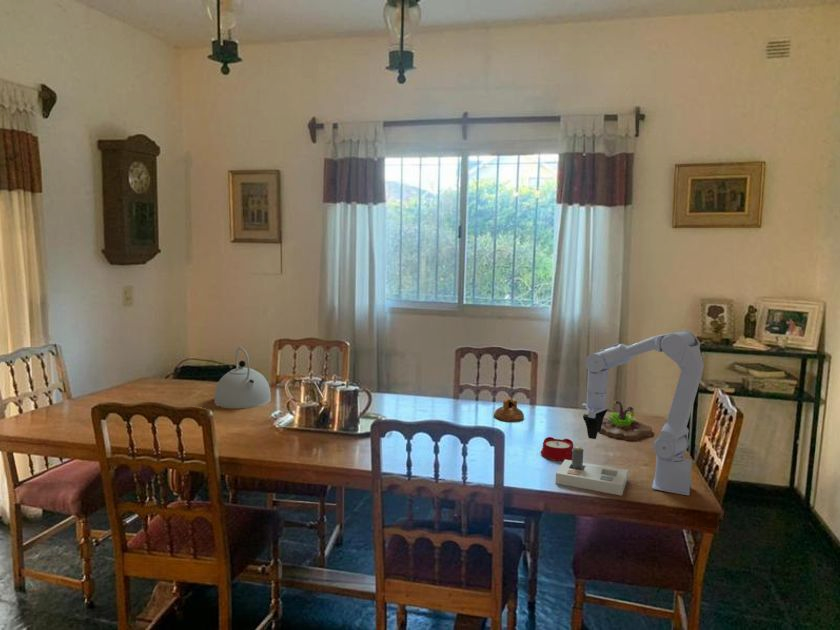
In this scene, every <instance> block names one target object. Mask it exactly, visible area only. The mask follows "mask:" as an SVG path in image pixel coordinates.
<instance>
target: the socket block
mask: <svg viewBox="0 0 840 630" xmlns="http://www.w3.org/2000/svg"><path fill="white" fill-rule="evenodd" d="M628 472H629V470H628V469H625V468H624V469H623V468H618V467H612V466H606V465H600V464H594V463H590V462H589V463H587V462H583V468H582V470H576V469H572V459H570V460H564V461H562V463H561V464H560V466H559V467H558V469H557V471H556V472H555V484H558V485H562V486H563V485H564V486H567V487H569V486H570V487H572V488H573V487H574V488H579V489H583V490H584V489H585V490H590V491H595V492H599V493H600V492H601V493H605V494H612V495H617V496H623V494H624V491H625V488H626V485H627V482H628Z"/></svg>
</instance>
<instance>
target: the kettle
mask: <svg viewBox="0 0 840 630" xmlns="http://www.w3.org/2000/svg"><path fill="white" fill-rule="evenodd" d="M240 350H241V351H243V352H244V354H245V355H244V356H245V357H246V361H247V367H245V366H246V361H245V360H240V361H239V362H238V360H239V359H238V356H239V351H240ZM235 367H236V368H234V369H231V370H229V371H228V372H227V373H225V374H224V375H222V377H221V378H220V379H219V380H218V382H217V384H216V386H215V390H214V396H213V397H214V403H215V404H216V405H215V404H214V405H215V406H217V407H219V406H221V407H220V408H225V409H250V408H255V407H260V406H264V405H266V404H269V403H270V402H271V400H272V396H271V388H270V384H269V382H268V381H267V379H266V377H265V376H264V375H263V374H262V373H260V372H259V371H258V370H255V369H254V368H251V367H250V358H249V355H248V352H247V351H246V349H245V348H243V347H241V346H239V347H238V348H237V349H236V352H235Z"/></svg>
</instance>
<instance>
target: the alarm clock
mask: <svg viewBox="0 0 840 630" xmlns="http://www.w3.org/2000/svg"><path fill="white" fill-rule="evenodd" d="M573 448H574V443H573V441H572V440H571V439H569V438H563V439H560V438H559V439H558V438H554V437H551V436H548V437H546V438H544V440H543V442H542V449H541V450H540V455H541V457H544V458H545V459H549V460H553V461H555V462H560V461H562V462H564V460H572V454H573Z"/></svg>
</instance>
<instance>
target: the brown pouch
mask: <svg viewBox="0 0 840 630" xmlns="http://www.w3.org/2000/svg"><path fill="white" fill-rule="evenodd" d="M502 405H503V406H501V407H498V408H496V409H495V411H494V412H493V418H494V419H496V420H499V421H502V422H508V423H510V422H512V423H513V422H521V421H523V419H524V417H525V414H524V413H523V411H522V409H520V408H518V401H517V399H515V398H504V400H503V404H502Z"/></svg>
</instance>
